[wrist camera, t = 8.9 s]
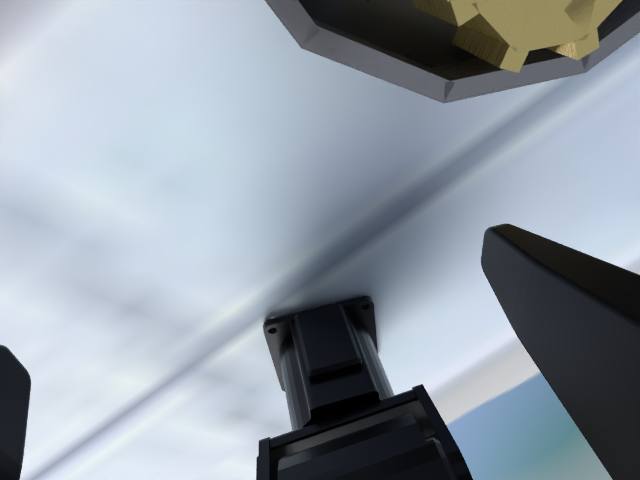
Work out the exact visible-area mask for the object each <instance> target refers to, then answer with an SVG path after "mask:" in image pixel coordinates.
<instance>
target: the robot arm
mask: <svg viewBox="0 0 640 480" xmlns="http://www.w3.org/2000/svg"><path fill="white" fill-rule="evenodd" d="M481 265H482V269H483V272H484V274H485V276H486V277H487V279H488V281H489V283H490V285H491V287H492V289H493V291H494V293H495V295H496V297H497V299H498V301H499V303H500V305H501V307H502V308H503V310H504V312H505V314H506V316H507V318H508V320H509V322H510V324H511V326H512V328H513V329H514V331H515V333H516V335H517V336H518V338H519V340H520V341H521V343H522V344H523V346H524V347H525V349H526V350H527V352H528V353H529V355H530V356H531V358H532V359H533V361H534V362H535V364H536V365H537V367H538V368H539V370H540V371H541V373H542V374H543V376H544V377H545V379H546V380H547V382H548V383H549V385H550V386H551V388H552V389H553V391H554V392H555V394H556V395H557V397H558V398H559V400H560V401H561V403H562V404H563V406H564V407H565V409H566V410H567V412H568V413H569V415H570V416H571V418H572V419H573V421H574V422H575V424H576V425H577V427H578V428H579V430H580V431H581V433H582V434H583V436H584V437H585V439H586V440H587V442H588V443H589V445H590V446H591V448H592V449H593V451H594V452H595V454H596V455H597V456H598V458H599V460H600V461H601V463H602V464H603V466H604V467H605V469H606V470H607V471H608V473H609V475H610V476H611V478H612V479H613V480H640V275H638V274H636V273H633V272H631V271H628V270H626V269H623V268H621V267H618V266H615V265H613V264H610V263H608V262H605V261H603V260H600V259H598V258H595V257H593V256H590V255H587V254H585V253H582V252H580V251H577V250H575V249H572V248H570V247H567V246H564V245H562V244H559V243H557V242H554V241H552V240H549V239H547V238H544V237H542V236H539V235H536V234H534V233H531V232H529V231H526V230H524V229H521V228H519V227H516V226H513V225H511V224H501V225H497V226H493V227H489V228H488V229H487V230H486V231H485V234H484V241H483V248H482V256H481ZM364 304H365V305H364ZM270 328H273V329H270ZM263 330H264V335H265V338H266V341H267V344H268V347H269V350H270V354H271V357H272V360H273V363H274V366H275V369H276V373H277V376H278V379H279V382H280V385H281V389H282V390H283V391H285V392H286V398H287V403H288V409H289V414H290V420H291V426H292V431H291V432H288V433H285V434H282V435H280V436H277V437H274V438H270V437H268V438H265V439H262V440H259V456H258V457H257V474H256V480H473V479H472V476H471V474H470V471H469V469H468V467H467V464H466V462H465V460H464V458H463V456H462V454H461V452H460V450H459V448H458V446H457V444H456V442H455V440H454V439H453V437H452V435H451V433H450V432H449V430H448V428H447V426H446V425H445V423H444V421H443V419H442V418H441V416H440V414H439V412H438V411H437V409H436V407H435V405H434V404H433V402H432V400H431V398H430V397H429V395H428V393H427V391H426V390H425V388H424V386H423V385H422V384H421V385H418V386H415V387H412V390H409V391H406V392H404V393H401V394H398V395H395V396H394V393H393V391H392V388H391V386H390V383H389V381H388V378H387V376H386V373H385V371H384V368H383V366H382V364H381V361H380V359H379V356H378V352H377V340H376V327H375V315H374V304H373V302H372V300H371V298H370V297H369V296H361V297H358V298H354V299H350V300H346V301H342V302H338V303H334V304H330V305H326V306H322V307H318V308H314V309H310V310H306V311H303V312H299V313H295V314H291V315H287V316H283V317H279V318H275V319H271V320H268V321H266V322H265V323H264V325H263ZM30 390H31V379H30V375H29V373H28V371H27V370H26V369H25V368H24V366H23V365H22V364H21V363H20V362H19V361H18V359H17V358H16V357H15V356H14V355H13V354H12V352H11V351H10V350H9V349H8V348H7V347H5V346H3V345H0V480H19V479H20V474H21V469H22V462H23V455H24V446H25V437H26V428H27V418H28V409H29V399H30Z"/></svg>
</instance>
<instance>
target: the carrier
mask: <svg viewBox="0 0 640 480" xmlns="http://www.w3.org/2000/svg"><path fill="white" fill-rule="evenodd" d="M265 1H266V3H267V4H268V5H269V6H270V8H271V9H272V10H273V12H274V13H275V14H276V16H277V17H278V18H279V20H280V21H281V22H282V23H283V25H284V26H285V27H286V29H287V30H288V31H289V33H290V34H291V35H292V36H293V38H294V39H295V40H296V42H297V43H298V44H299V46H300V47H301V48H302V49H305V50H308V51H310V52H313V53H315V54H318V55H320V56H323V57H326V58H328V59H331V60H333V61H336V62H339V63H341V64H344V65H346V66H349V67H352V68H354V69H357V70H359V71H362V72H364V73H367V74H370V75H372V76H375V77H377V78H380V79H383V80H385V81H388V82H390V83H393V84H395V85H398V86H401V87H403V88H406V89H408V90H411V91H414V92H416V93H419V94H421V95H424V96H427V97H429V98H432V99H434V100H437V101H439V102H442V103H447V102H452V101H457V100H461V99H466V98H471V97H475V96H480V95H484V94H489V93H494V92H498V91H503V90H507V89H512V88H517V87H521V86H526V85H531V84H535V83H540V82H544V81H549V80H554V79H558V78H563V77H568V76H572V75H577V74H581V73H586V72H587V71H588V70H590V69H591V68H592V67H594V66H595V65H596V64H598V63H599V62H600V61H602V60H603V59H604V58H606V57H607V56H608V55H610V54H611V53H612V52H614V51H615V50H616V49H618V48H619V47H621V46H622V45H623V44H625V43H626V42H627V41H629V40H630V39H631V38H633V37H634V36H635V35H637V34H638V33H639V32H640V0H622V1H621V2H620V3H619V4H618V5H617V7H616V8H615V9H614V10H613V11H612V12H611V13H610V14H609V15H608V16H607V17H606V18H605V20H604V21H603V22H602V23H601V24H600V25H599V26H598V27H597V31H598V39H599V48H597V49H596V50H594V51H592V52H591V53H589V54H587V55H586V56H584V57H583V58H581V59H579V60H578V61H577V60H575V59H572V58H570V57H567V56H565V55H562V54H559V53H557V52H554V51H552V50H549V49H547V48H541V49H536V50H531V51H529V53H528V55H527V57H526V59H525V61H524V63H523V65H522V67H521V69H520V71H519V73H517V72H513V71H509V70H505V69H502V68H499V67H497V66H495V65H493V64H491V63H489V62H487V61H485V60H483V59H481V58H479V57H477V56H475V55H473V54H471V53H469V52H468V51H466V50H464V49H462V48H460V47H458V46H456V45H454V44H452V43H453V40H454V37H455V35H456V32H457V30H458V26H456V25H454V24H451V23H449V22H447V21H444V20H442V19H440V18H438V17H435V16H433V15H431V14H429V13H426V12H424V11H422V10H419V9H417V8H415V6H414V3H413V1H412V0H265Z"/></svg>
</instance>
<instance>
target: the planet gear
mask: <svg viewBox="0 0 640 480" xmlns="http://www.w3.org/2000/svg"><path fill="white" fill-rule="evenodd" d="M412 1H413V3H414V6H415V8H417V9H419V10H422V11H424V12H426V13H429V14H431V15H433V16H435V17H438V18H440V19H442V20H444V21H447V22H449V23H451V24H454V25H456V26H458V30H457V32H456V35H455V37H454V40H453V43H452V44H454V45H456V46H458V47H460V48H462V49H464V50H466V51H468V52H469V53H471V54H473V55H475V56H477V57H479V58H481V59H483V60H485V61H487V62H489V63H491V64H493V65H495V66H497V67H499V68H502V69H505V70H509V71H513V72H517V73H519V71H520V69H521V67H522V65H523V63H524V61H525V59H526V57H527V55H528V53H529V51H531V50H536V49H541V48H547V49H549V50H552V51H554V52H557V53H559V54H562V55H565V56H567V57H570V58H572V59H575V60H577V61H578V60H579V59H581V58H583V57H584V56H586V55H587V54H589V53H591V52H592V51H594V50H596V49H597V48H599V39H598V31H597V27H598V26H599V25H600V24H601V23H602V22H603V21H604V20H605V18H606V17H607V16H608V15H609V14H610V13H611V12H612V11H613V10H614V9H615V8H616V7H617V5H618V4H619V3H620V2H621V1H622V0H412Z"/></svg>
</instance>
